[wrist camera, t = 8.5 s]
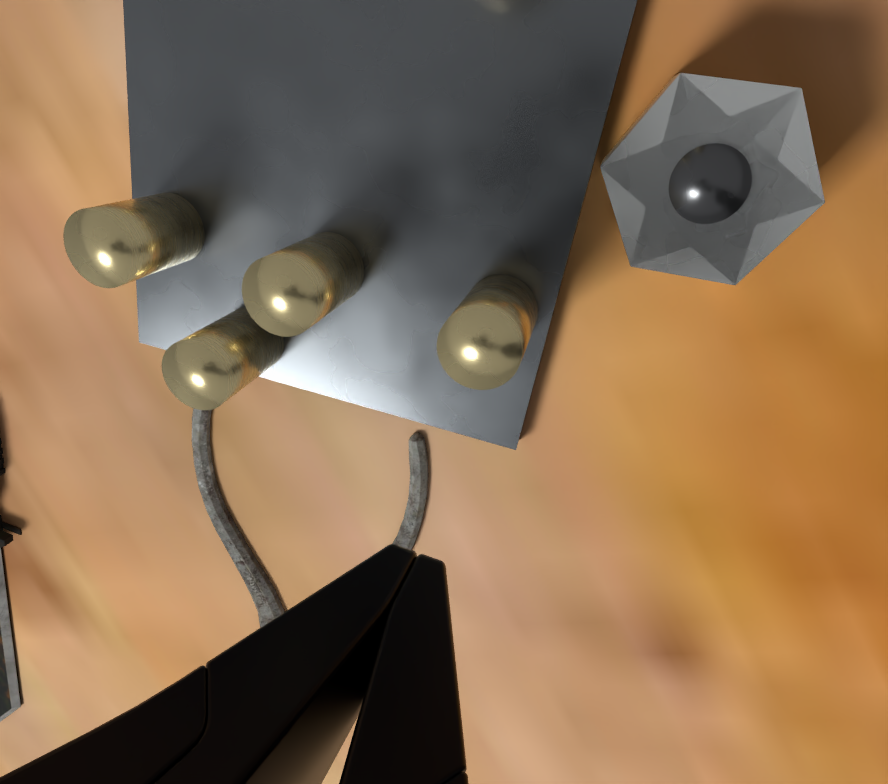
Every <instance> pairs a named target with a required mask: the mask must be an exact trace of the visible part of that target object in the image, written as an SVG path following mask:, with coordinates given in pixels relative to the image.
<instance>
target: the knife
mask: <svg viewBox="0 0 888 784" xmlns="http://www.w3.org/2000/svg"><path fill="white" fill-rule="evenodd" d="M1 444H2V441H1V438H0V476H1V475H2V474H4V473H5V468H4V467H3V463H4V458H2V454H3V450H2V448H1ZM3 528H4V529H6V530H9V531H11V532H14V533H17V534H19V535H21V534H22V532H21V529H20V528H18V527H15V526H13V525H10V524H7V523H5V522H2V518H1V515H0V721H2V720H3V719H5V718H6V717H7V716H9V715H10V714H11V713H13V712H14V711H15V710H17V709H18V708H19V707H21V705H20V697H19V689H18V681H17V673H16V665H15V657H14V649H13V642H12V634H11V626H10V618H9V610H8V602H7V594H6V586H5V578H4V570H3V562H2V555H1V547H4V546H6V545H7V544H9V543H10V542H11V541H13V535H12V534H9V533H7V532H4V531H3Z"/></svg>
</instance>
